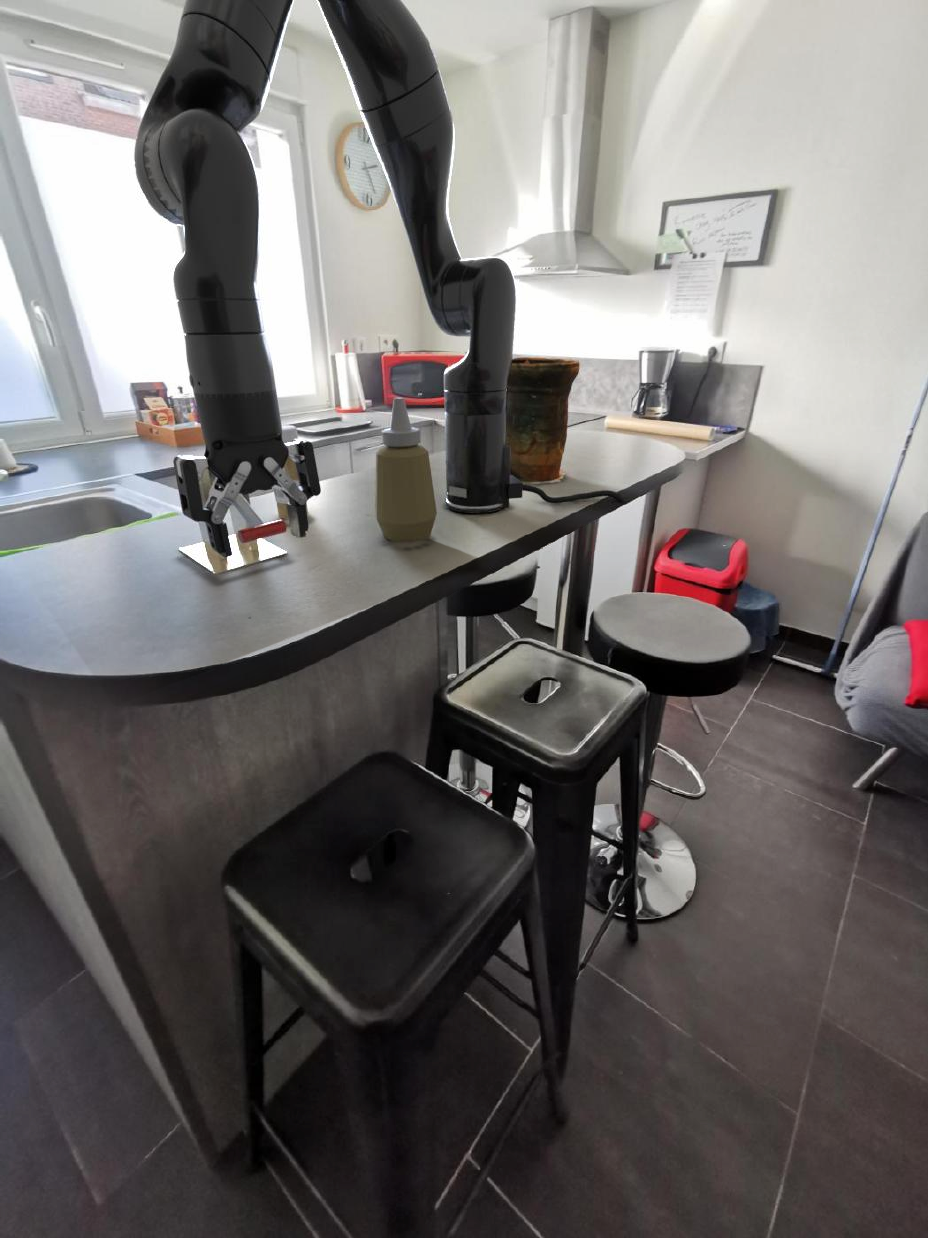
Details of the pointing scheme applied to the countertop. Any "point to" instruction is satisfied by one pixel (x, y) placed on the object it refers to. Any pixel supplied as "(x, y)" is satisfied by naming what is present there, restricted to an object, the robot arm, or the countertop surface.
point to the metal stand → (241, 551)
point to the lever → (254, 521)
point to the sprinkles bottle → (287, 472)
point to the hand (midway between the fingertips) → (264, 545)
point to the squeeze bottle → (403, 481)
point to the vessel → (538, 416)
